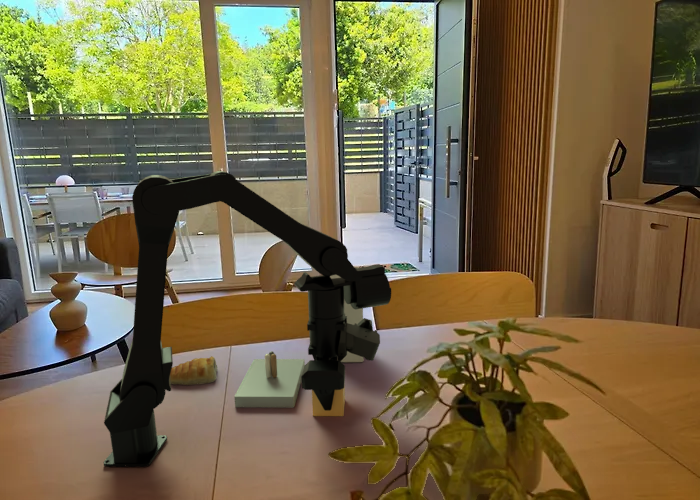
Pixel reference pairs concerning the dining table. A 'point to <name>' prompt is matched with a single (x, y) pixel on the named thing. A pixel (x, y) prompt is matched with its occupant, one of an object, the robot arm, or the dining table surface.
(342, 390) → the small yellow upright block
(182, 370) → the pastry
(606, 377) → the dining table surface
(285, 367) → the pale green flat slab
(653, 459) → the dining table surface
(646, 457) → the dining table surface
